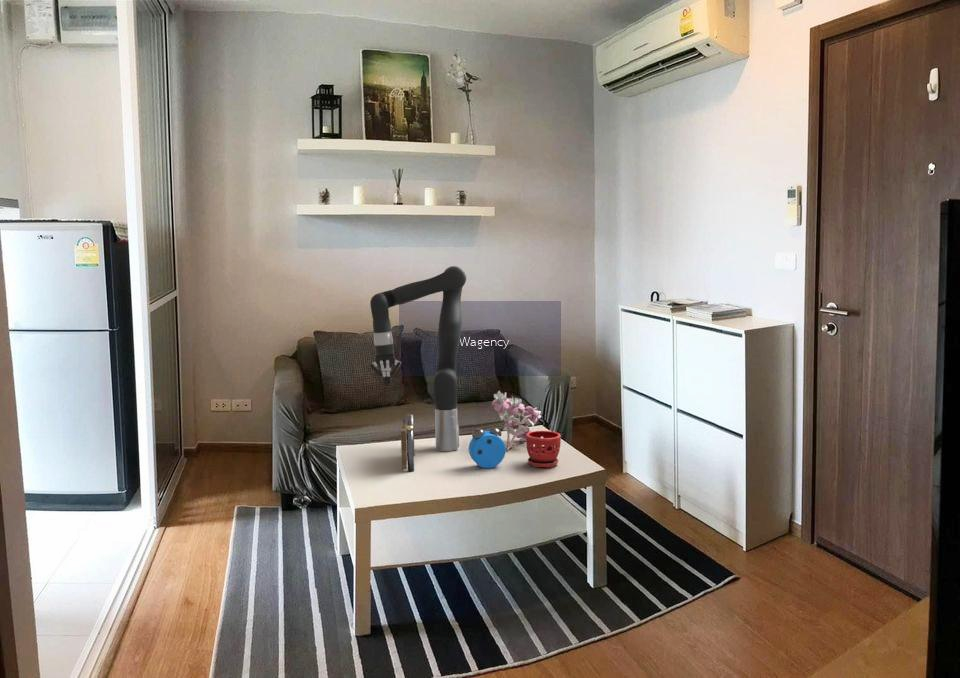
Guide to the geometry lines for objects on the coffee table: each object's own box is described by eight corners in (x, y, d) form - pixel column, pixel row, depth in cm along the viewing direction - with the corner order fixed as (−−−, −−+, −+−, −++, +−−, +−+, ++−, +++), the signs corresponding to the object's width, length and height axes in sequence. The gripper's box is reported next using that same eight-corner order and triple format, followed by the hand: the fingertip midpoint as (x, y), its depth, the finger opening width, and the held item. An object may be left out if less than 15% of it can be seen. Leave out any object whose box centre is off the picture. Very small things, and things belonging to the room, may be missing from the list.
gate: (403, 455, 284) (402, 418, 282) (407, 455, 284) (406, 418, 282) (402, 470, 265) (400, 431, 263) (406, 469, 265) (405, 430, 263)
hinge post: (415, 455, 286) (414, 414, 284) (413, 457, 283) (412, 415, 281) (408, 455, 286) (407, 414, 284) (407, 457, 284) (406, 415, 281)
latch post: (415, 469, 268) (414, 425, 266) (413, 472, 265) (412, 427, 263) (408, 469, 268) (406, 425, 266) (406, 472, 266) (404, 427, 263)
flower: (550, 448, 286) (547, 388, 294) (496, 447, 282) (495, 386, 290) (536, 457, 305) (533, 400, 313) (484, 455, 300) (484, 398, 308)
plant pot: (561, 469, 265) (561, 438, 264) (526, 469, 266) (526, 438, 264) (559, 459, 278) (559, 429, 277) (526, 459, 279) (525, 429, 277)
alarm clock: (501, 462, 275) (500, 424, 273) (506, 467, 269) (505, 428, 267) (468, 466, 271) (467, 427, 269) (473, 470, 266) (472, 431, 264)
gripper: (365, 345, 282) (369, 388, 284) (398, 343, 281) (402, 386, 283) (369, 343, 290) (373, 384, 292) (401, 340, 288) (405, 382, 291)
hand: (388, 385), depth 287 cm, fingers closed
